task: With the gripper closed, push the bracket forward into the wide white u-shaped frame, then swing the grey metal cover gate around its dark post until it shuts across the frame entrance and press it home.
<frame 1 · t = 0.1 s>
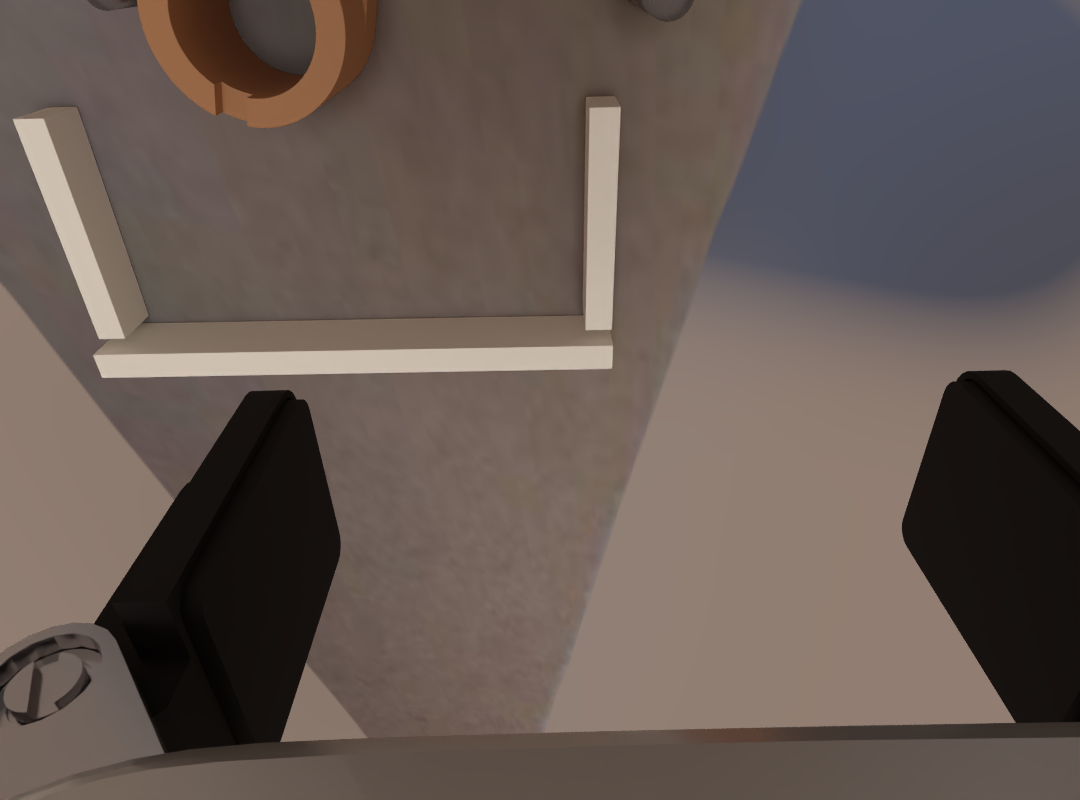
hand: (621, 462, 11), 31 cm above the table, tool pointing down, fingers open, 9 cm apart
white u-shaped frame: (349, 215, 40), on the table
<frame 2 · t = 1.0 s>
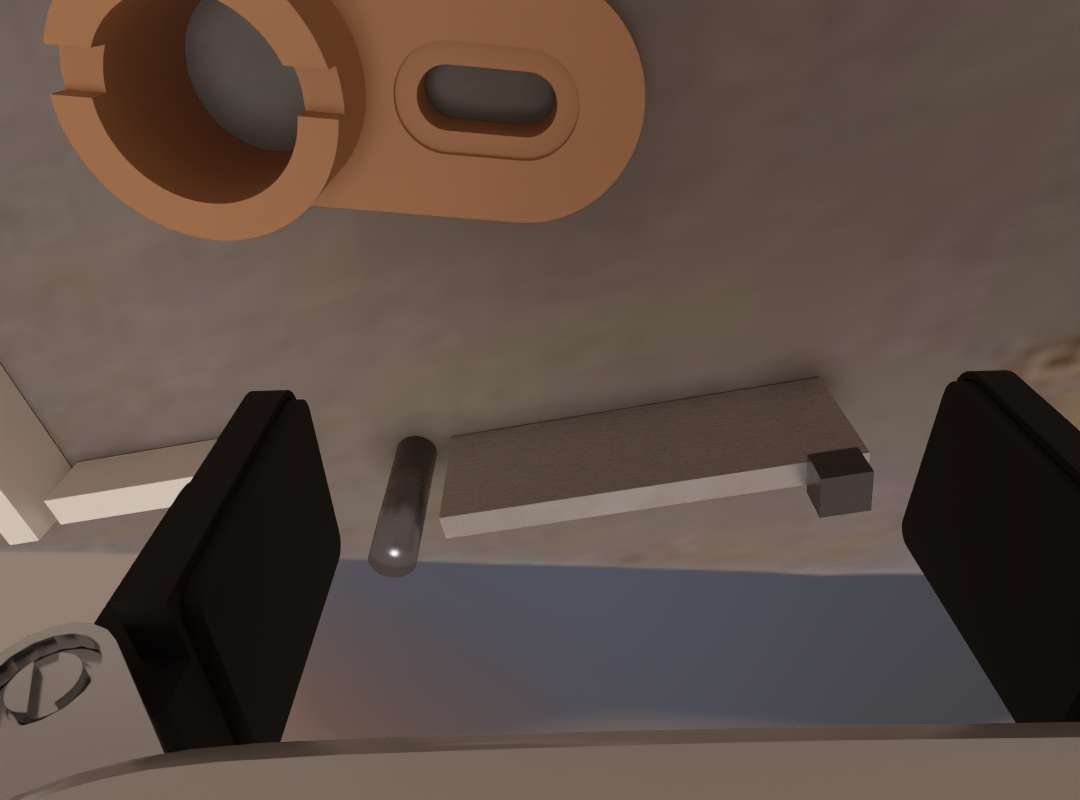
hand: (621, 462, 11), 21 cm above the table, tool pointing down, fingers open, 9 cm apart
white u-shaped frame: (41, 181, 29), on the table
bracket: (400, 80, 27), on the table
hinge post: (416, 452, 36), on the table
gate: (643, 465, 32), point 4 cm above the table, hinge at 0.0°
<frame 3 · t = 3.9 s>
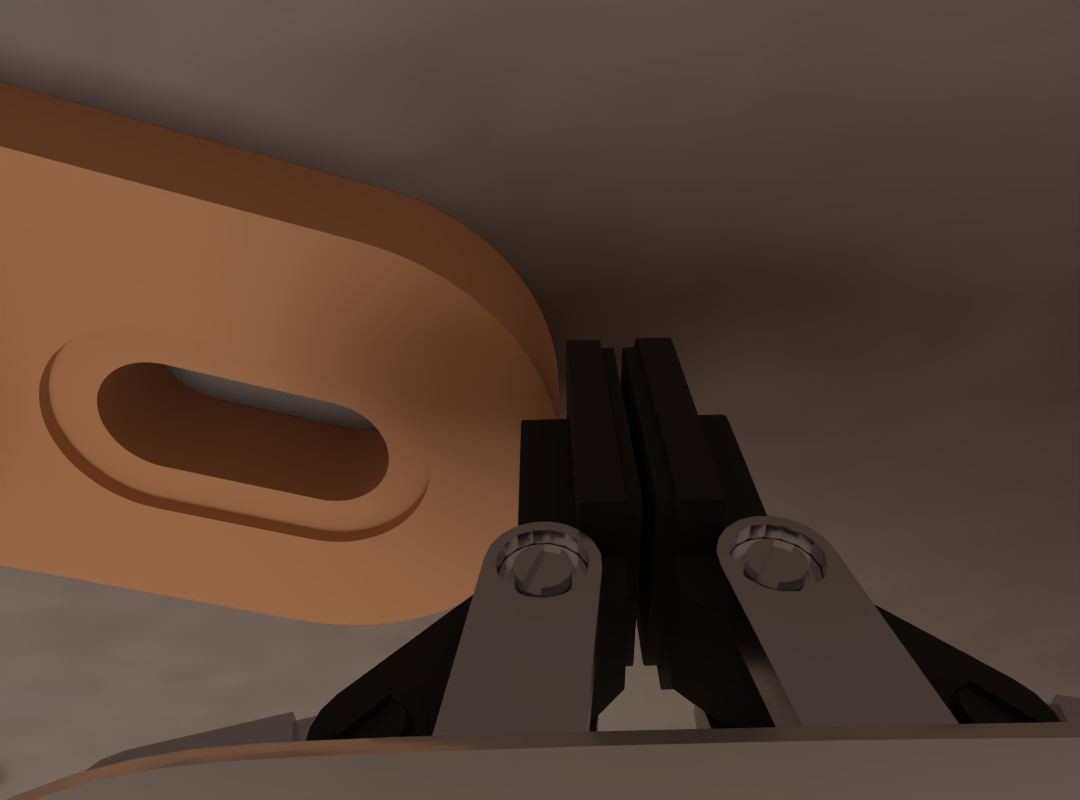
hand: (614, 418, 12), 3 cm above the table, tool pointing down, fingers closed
bracket: (115, 318, 14), on the table, touching gripper
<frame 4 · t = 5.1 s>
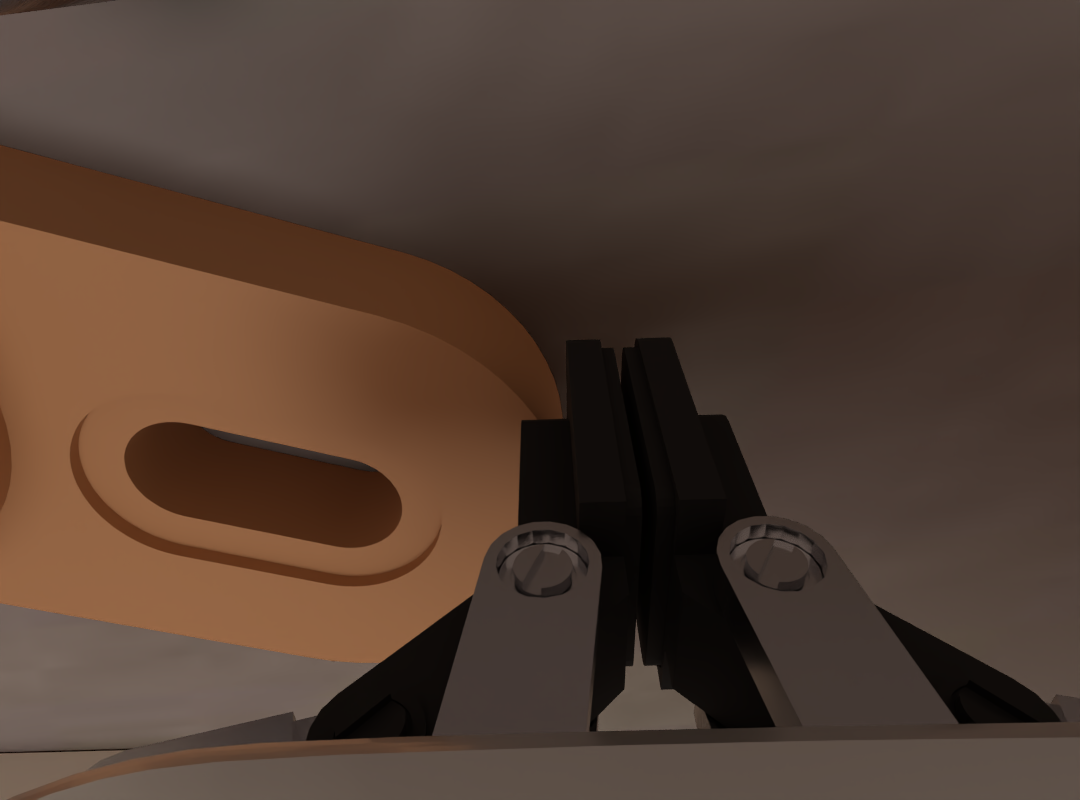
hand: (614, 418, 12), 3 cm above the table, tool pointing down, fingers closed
bracket: (137, 369, 15), on the table
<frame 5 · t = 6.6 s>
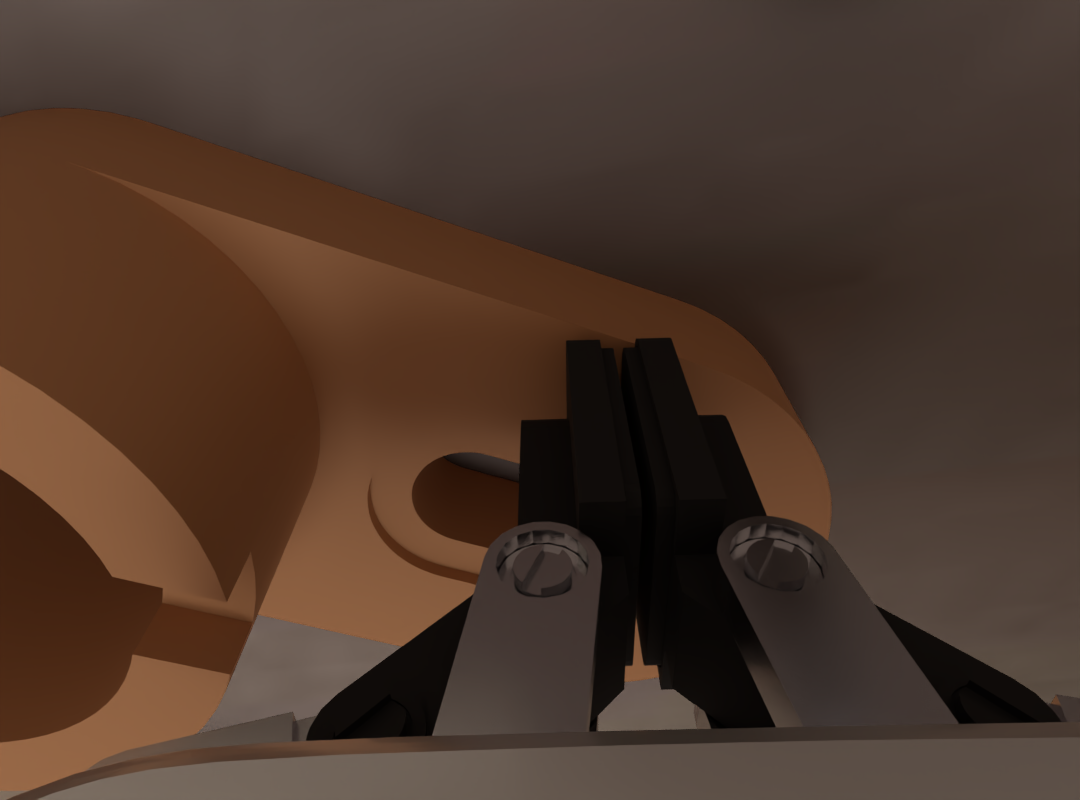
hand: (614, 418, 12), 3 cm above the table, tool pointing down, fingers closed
bracket: (386, 391, 15), on the table, touching gripper
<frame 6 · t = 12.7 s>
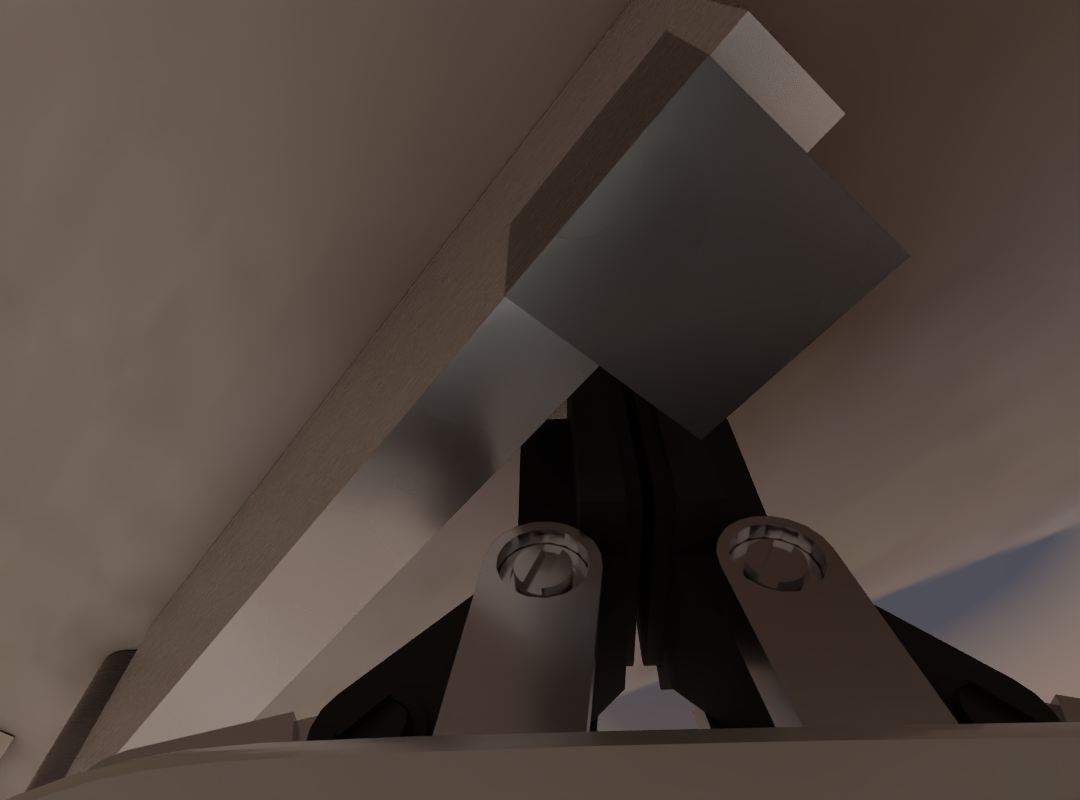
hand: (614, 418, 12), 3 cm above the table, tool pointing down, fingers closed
hinge post: (141, 675, 19), on the table
gate: (311, 531, 11), point 4 cm above the table, hinge at 5.4°, touching gripper
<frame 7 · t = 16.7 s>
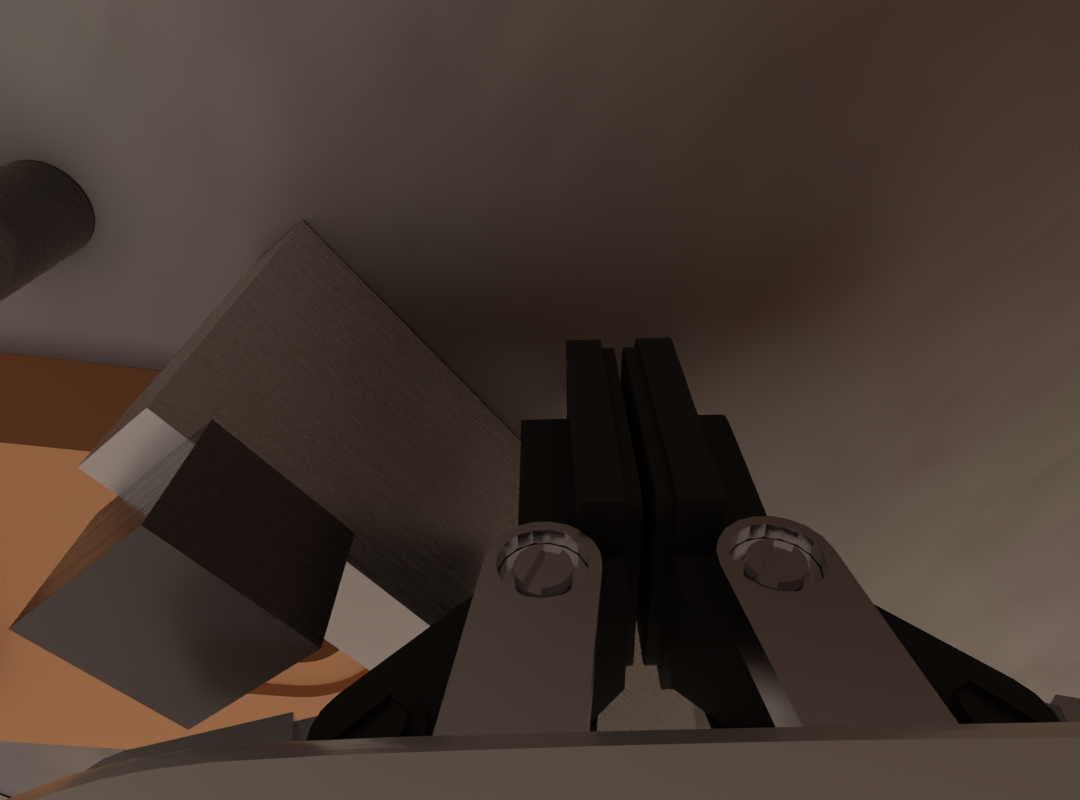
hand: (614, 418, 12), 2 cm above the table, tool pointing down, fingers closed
bracket: (105, 513, 16), on the table, touching gate
gate: (598, 682, 13), point 4 cm above the table, hinge at 82.2°, touching gripper, bracket
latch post: (43, 208, 12), on the table
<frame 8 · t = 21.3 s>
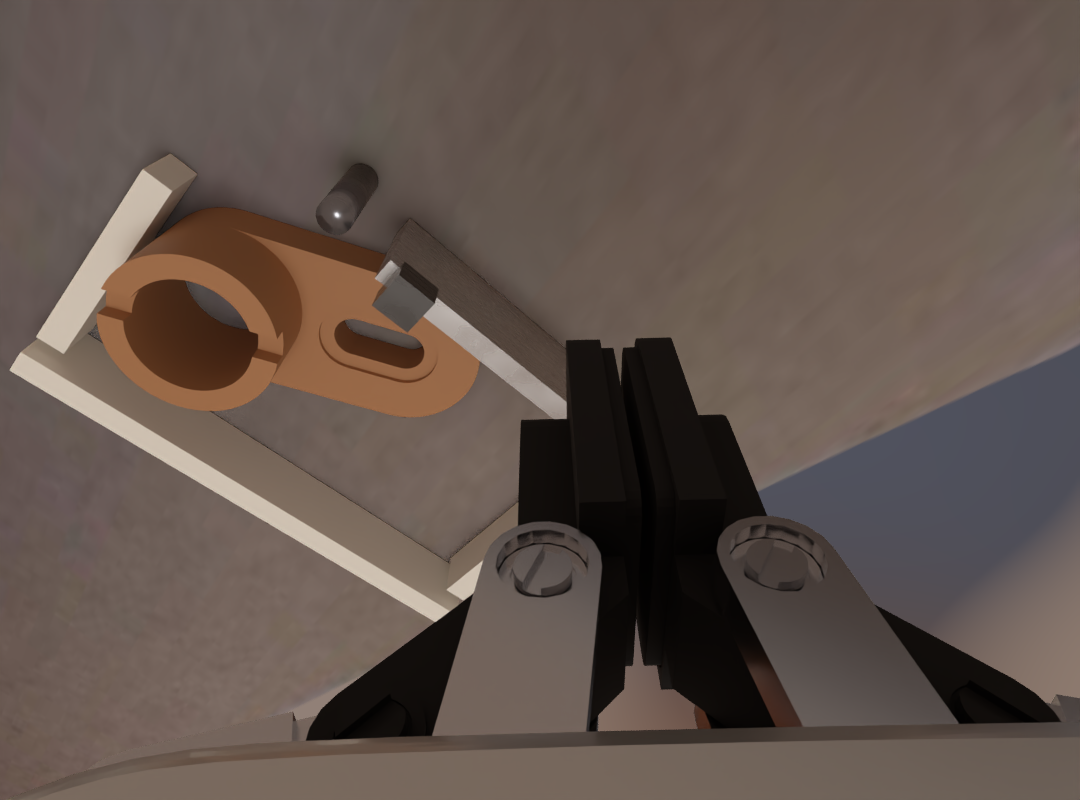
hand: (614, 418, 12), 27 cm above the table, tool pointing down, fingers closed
white u-shaped frame: (345, 397, 43), on the table
bracket: (328, 304, 41), on the table
gate: (527, 362, 38), point 4 cm above the table, hinge at 90.0°
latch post: (362, 179, 36), on the table
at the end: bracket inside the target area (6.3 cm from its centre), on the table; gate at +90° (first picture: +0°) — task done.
